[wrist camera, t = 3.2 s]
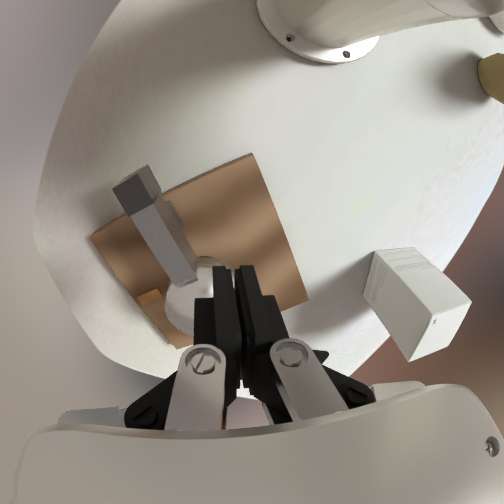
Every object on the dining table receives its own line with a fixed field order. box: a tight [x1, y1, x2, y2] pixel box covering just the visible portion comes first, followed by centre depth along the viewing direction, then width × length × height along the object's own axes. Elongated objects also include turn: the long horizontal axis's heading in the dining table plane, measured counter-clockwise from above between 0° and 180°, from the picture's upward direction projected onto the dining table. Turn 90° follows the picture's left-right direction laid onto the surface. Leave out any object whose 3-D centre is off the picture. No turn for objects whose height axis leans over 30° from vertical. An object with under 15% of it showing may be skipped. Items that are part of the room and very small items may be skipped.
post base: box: [90, 153, 309, 349], centre depth 27 cm, size 18×18×4 cm
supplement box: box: [363, 247, 472, 362], centre depth 28 cm, size 7×7×13 cm
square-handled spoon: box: [112, 165, 235, 336], centre depth 22 cm, size 16×7×3 cm, turn 22°
